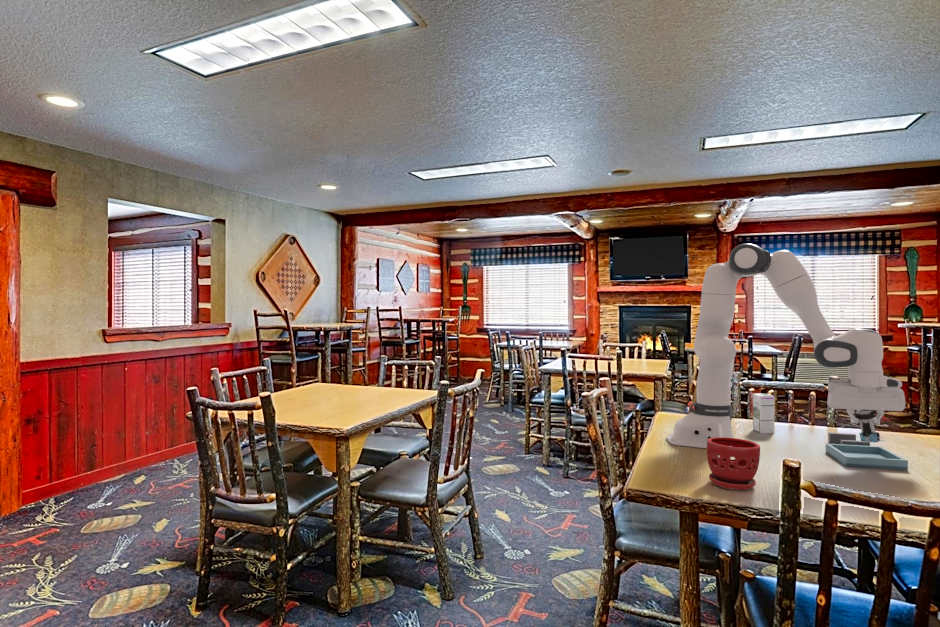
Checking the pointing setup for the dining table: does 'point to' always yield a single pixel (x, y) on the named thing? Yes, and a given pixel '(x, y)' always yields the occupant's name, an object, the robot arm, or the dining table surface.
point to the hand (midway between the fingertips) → (865, 423)
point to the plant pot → (733, 462)
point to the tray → (866, 457)
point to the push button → (867, 426)
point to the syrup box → (763, 413)
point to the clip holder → (845, 439)
